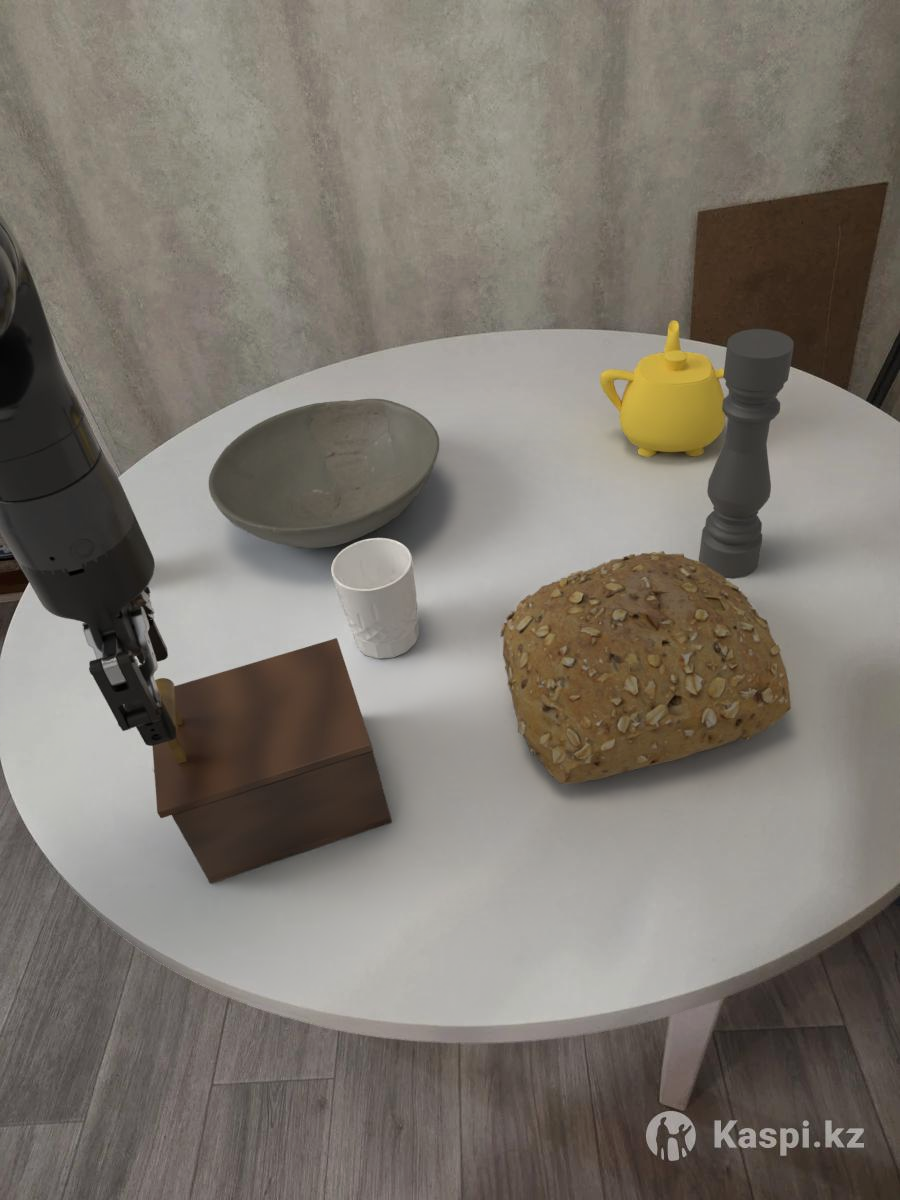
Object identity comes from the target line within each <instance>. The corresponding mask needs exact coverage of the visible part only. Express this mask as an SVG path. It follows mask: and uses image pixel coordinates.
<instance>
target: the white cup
mask: <svg viewBox="0 0 900 1200" xmlns="http://www.w3.org/2000/svg"><path fill="white" fill-rule="evenodd" d="M330 570H331V571H330V572H331V576H332V580H333V582H334V586H335V588H336V591H337V595H338V598H339V601H340V603H341V607H342V610H343V613H344V616H345V619H346V621H347V623H348V626H349V628H350V629H351V630H350V631H351V632H352V635H353V639H354V641H355V645H356V648H357V649H358V650H359V651H360V652H362V653H363V655H365V656H367V657H371V658H375V659H378V660H382V659H392V658H395V657H398V656H401V655H403V654H406V653H407V652H408V651H409V650H410V649H412V648H413V646H414V645H415V644H416V643H417V640H418V639H419V634H420V625H419V619H418V617H419V616H418V610H419V609H418V601H417V600H418V599H417V587H416V580H415V571H414V563H413V556H412V552H411V551H410V549H409V548H408V547H407V546H406V544H405V545H404V543H402V542H400V541H398V540H395V539H392V538H387V537H386V538H385V537H373V538H366V539H362V540H358V541H356V542H353V543H352V544H350V545H348V546H346V547H344V548H343V549H341V551H339V552H338V553H337V555H336V556H335V558H334V559H333V561H332V564H331V566H330Z"/></svg>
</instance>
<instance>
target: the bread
mask: <svg viewBox="0 0 900 1200" xmlns="http://www.w3.org/2000/svg"><path fill="white" fill-rule="evenodd" d="M506 621H507V622H503V624H502V627H501V630H500V638H502V637H503V639H502V642H503V643H502V656H503V660H504V663H505V664H504V665H505V666H504V669H505V671H506V674H507V687H508V689H509V691H510V693H511V698H512V705H513V708H514V712H515V715H516V718H517V722H518V723H517V733H518V734H521V735H522V736H523V737H524V739H525V741H526V742H527V744H528V746H529V752H530V754H532V755H536V756H537V758H538V760H539V761H540V762H541V763H542V764H543V766H544V768H545V769H546V770H547V771H548V773H549V775H551V776H553V778H555V780H557V782H558V783H559V784H579V783H584V782H586V781H590V780H591V781H593V780H601V779H604V778H608V777H611V776H615V775H619V774H622V773H625V772H629V771H630V772H631V771H634V770H639V769H642V768H646V767H651V766H654V765H659V764H663V763H667V762H672V761H677V760H680V759H683V758H687V757H688V756H692V755H694V754H696V753H700V752H704V751H707V750H710V749H715V748H718V747H721V746H725V745H727V744H728V743H731V742H733V741H740V740H741V739H744V740H745V741H747V740H749V739H750V738H751V737H752V736H753V735H756V734H758V733H761V732H763V731H765V730H767V729H769V728H770V727H771V726H773V725H775V724H776V723H777V722H779V721H780V720H781V719H782V718H783V717H785V715H786V714H787V713H788V712H789V711H790V710H791V709H792V707H791V706H792V705H791V697H790V683H789V678H788V675H787V670H786V667H785V664H784V661H783V658H782V655H781V653H780V652H781V648H780V645H779V644H776V642H775V639H774V637H773V636H772V634H771V629H770V627H769V623H768V620H767V619H765V618H763V617H761V616H760V615H759V613H758V612H757V609H756V608H754V607H753V605H752V604H751V603H750V602H749V601H748V597H747V596H746V595H745V594H744V592H743V591H742V590H740V588H739V586H737V585H735V584H734V583H732V582H730V580H728V579H727V578H726V577H724V576H723V575H721V574H719V573H717V572H716V571H714V570H713V569H711V568H709V567H708V566H707V565H705V564H703V563H701V562H700V561H699V560H694V559H692V558H688V557H685V554H684V552H683V553H665V552H664V550H661V551H659V552H656V551H651V552H650V553H646V552H645V553H644V552H643V553H641V554H634V553H633V554H629V555H626V556H623V557H622V558H615V559H613V558H612V559H610V561H609V562H602V563H601V564H599V565H597V566H596V567H592V568H589V569H588V570H579V571H576V572H571V573H570V574H569V575H568V576H566V577H561V578H560V580H557V581H553V582H551V583H549V584H546V585H541V586H540V588H539V589H538V590H537V591H535V592H534V593H533V594H528V595H526V597H524V598H523V599H522V600H521V601H520V602H519V603H518V605H516V610H515V611H512V610H511V611H510V613H509V614H508V616H507V617H506Z"/></svg>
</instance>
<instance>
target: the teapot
mask: <svg viewBox="0 0 900 1200" xmlns="http://www.w3.org/2000/svg"><path fill="white" fill-rule="evenodd" d="M723 375H724V368H718V369H715V368H714V366H713V364H712V362H711V360H710V359H709V358H708V357H707V356H706V355H704V354H701V353H697V352H691V351H683V350H681V342H680V324H679V322H678V321H677V320H674V319H673V320H671V321H670V322H669V324H668V328H667V335H666V341H665V346H664V349H663V352H656V353H652V354H648V355H646V356H644V357H642V358H641V359H640V360H639V362H638V363H637V365H636V366H635V368H634V369H633V371H629V370H626V369H625V370H624V369H614V368H613V369H612V368H611V369H609V368H608V369H605V370H603V371H602V372H601V374H600V375H599V383H600V386H601V389H602V391H603V392H604V394H605V395H606V397H607V398H608V400H609V401H610V402H611V404H612V405H613V406H614V407H615V408H616V410H618V412H619V418H618V419H619V425H620V427H621V430H622V432H623V435H624V436H625V437H626V438H627V440H629V442H630V443H631V444H632V445H634V446H636V447H637V448H638V449H637V453H638V455H640V456H642V457H646V458H649V457H653V456H655V455H656V454H657V452H666V453H677V452H678V453H679V452H684V453H685V455H687V456H689V457H700V456H702V455H703V454H704V452H705V450H704V448H705V447H707V446H709V445H711V444H712V443H713V442H714V441H715V440H717V438H718V437H719V436H720V435H721V433H722V432H723V430H724V426H725V420H726V415H725V414H724V412H723V411H722V405H723V400H724V399H725V396H724V392H723V387H722V384H721V382H720V379H724V377H723ZM617 380H618V381H619V380H621V381H622V380H623V381H627V383H626V386H625V388H624V391H623V394H622V398H621V397H620V396H619V394H618V393H617V389H616V386H615V384H614V382H615V381H617ZM728 395H729V393H728V394H727V396H728Z"/></svg>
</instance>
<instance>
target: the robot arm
mask: <svg viewBox="0 0 900 1200" xmlns="http://www.w3.org/2000/svg"><path fill="white" fill-rule="evenodd" d="M45 313H46V312H45V309H44V307H43V304H42V300H41V297H40V294H39V292H38V289H37V286H36V283H35V280H34V277H33V275H32V272H31V270H30V267H29V265H28V262H27V259H26V257H25V255H24V252H23V250H22V248H21V245H20V243H19V241H18V239H17V237H16V235H15V233H14V231H13V230H12V227H11V226H10V225H9V223H8V222H7V220H6V219H5V217H4V216H3V215H2V214H1V213H0V535H1V537H2V538H3V540H4V542H5V543H6V545H7V547H8V548H9V551H10V553H12V555H13V557H14V559H15V561H16V562H17V564H18V566H19V567H20V568H21V571H22V573H23V574H24V576H25V578H26V580H27V581H28V583H29V584H30V586H31V588H32V590H33V592H34V593H35V596H36V597H37V598H38V600H39V602H40V603H41V605H42V606H43V608H45V610H46V611H48V612H49V613H50V614H51V615H54V616H57V617H59V618H62V619H66V620H67V619H68V620H73V621H78V622H82V631H83V635H84V637H85V640H86V643H87V646H88V647H89V648H91V649H92V650H93V653H94V655H95V658H96V659H93V660H90V661H89V663H88V665H89V667H88V670H89V671H88V672H89V674H90V675H91V676H92V677H93V680H94V682H95V683H96V686H97V687H98V690H99V691H100V692H101V694H102V696H103V698H104V699H105V702H106V703H107V706H108V707H109V709H110V712H111V713H112V715H113V716H114V718H115V720H116V722H117V726H118V727H120V729H121V731H122V732H126V731H128V730H131V729H133V728H135V729H136V730H137V732H138V733H139V735H140V737H141V739H142V740H143V742H144V744H145V745H147V746H150V747H152V746H154V745H157V744H160V743H164V742H167V741H170V740H173V739H174V738H175V737H176V727H175V725H174V723H173V721H172V719H171V717H170V715H169V713H168V711H167V709H166V708H165V706H164V704H163V702H162V696H161V694H159V691H158V688H157V685H156V682H155V680H156V679H155V675H154V674H155V673H156V671H158V668H159V664H158V662H162V661H165V660H167V659H168V656H169V652H168V647H167V645H166V643H165V640H164V639H163V637H162V633H160V630H159V628H158V626H157V624H156V622H155V620H154V619H155V610H154V607H153V605H152V602H151V590H150V587H149V586H148V585H149V584H150V582H151V581H152V579H153V577H154V574H155V570H156V569H155V567H156V563H155V558H154V555H153V553H152V551H151V548H150V546H149V544H148V542H147V540H146V537H145V535H144V532H143V530H142V528H141V526H140V524H139V521H138V519H137V517H136V514H135V512H134V510H133V508H132V506H131V504H130V503H131V502H130V501H129V499H128V497H127V494H126V492H125V490H124V487H123V485H122V483H121V481H120V479H119V476H118V475H117V474H116V472H115V470H114V468H113V466H112V465H111V464H110V462H109V461H108V459H107V458H106V456H105V454H104V452H103V450H102V449H101V446H100V444H99V442H98V440H97V437H96V434H95V433H94V431H93V428H92V426H91V424H90V422H89V420H88V417H87V415H86V413H85V411H84V408H83V406H82V405H81V402H80V400H79V399H78V396H77V394H76V393H75V391H74V389H73V387H72V385H71V383H70V382H69V379H68V377H67V375H66V373H65V370H64V368H63V366H62V363H61V361H60V358H59V356H58V355H59V354H58V352H57V348H56V344H55V341H54V337H53V335H52V332H51V329H50V325H49V322H48V319H47V316H46V314H45Z"/></svg>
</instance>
